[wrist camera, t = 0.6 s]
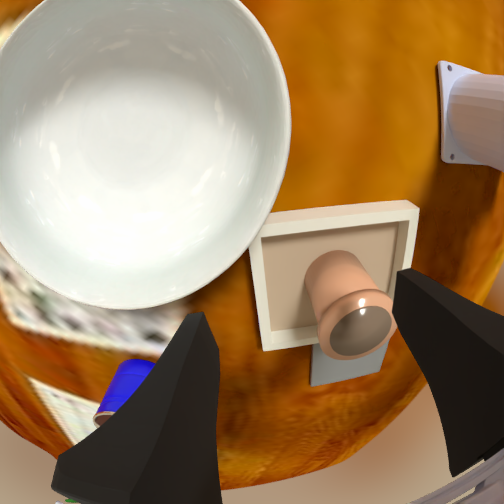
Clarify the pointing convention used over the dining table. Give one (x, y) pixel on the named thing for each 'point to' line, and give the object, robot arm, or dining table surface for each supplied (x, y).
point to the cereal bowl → (138, 145)
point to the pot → (348, 306)
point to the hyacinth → (121, 389)
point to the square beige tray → (314, 245)
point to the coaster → (342, 366)
